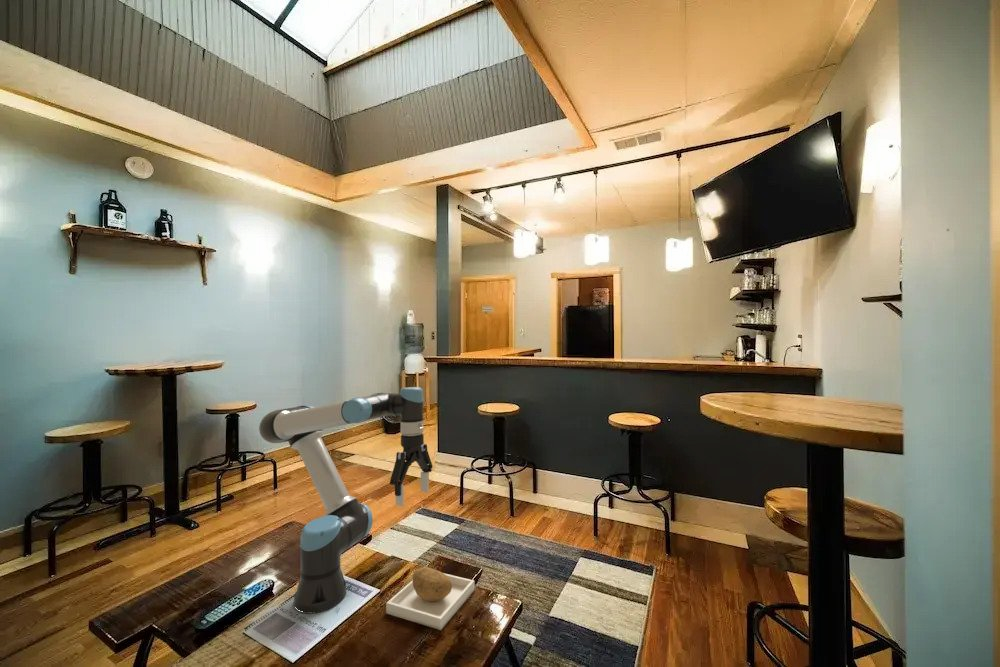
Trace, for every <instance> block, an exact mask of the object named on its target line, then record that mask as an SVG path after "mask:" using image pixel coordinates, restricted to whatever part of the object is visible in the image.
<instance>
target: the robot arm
mask: <svg viewBox="0 0 1000 667" xmlns="http://www.w3.org/2000/svg"><path fill="white" fill-rule="evenodd" d="M386 416H398V417H399V416H400V434H401V435H400V446H401V447H402V448H403V449H402V452H400V451H397V452H396V454H395V456H396V457H395V462H394V465H393V470H392V473H391V477H390V480H389V485H393V486H394V496H395V506H397V507H403V506H405V485H404V484H403V482H404V480H405V477H406V476H407V473H408V471H409V468H410V466H412V464H414V462H416V464H418V466H419V467H420V470H421V472H420V492H422V493H423V492H425V493H429V492H430V491H429V484H430V483H429V480H430V478H429V475H430V474H429V473H431V472H432V470H433V463H432V459H431V457H430V454H429V451H428V445H427V444H426V443H424V442H425V440H424V436H425V435H424V392H423V388H421V387H419V386H412V387H411V386H409V387H402V388H401V389H400V392H399V393H397V392H396V393H395V392H394V393H390V392H388V393H387V392H377V393H371V395H368V396H362V397H354V398H351V399H349V400H342V401H338V402H333V403H329V404H324V405H319V406H313V405H298V406H295V407H288V408H283V409H282V408H281V409H276V410H273V411H271V412H268V413H267V414H265V416H263V417H262V419H261V420H260V423H259V426H258V427H259V428H258V431H259V435H260V437H261V438H262V439H263V440H264V441H266V442H268V443H271V444H282V443H287V442H288V444H289V446H290V448H291V449H293V450H295V451H298V454H299V455H300V456H299V457H300V459H301V460H302V461H303V464H304V466H305V468H306V470H307V472H308V474H309V476H310V479H311V481H312V483H313V486H314V487H315V489H316V491H317V494H318V495H319V498H320V499H321V501H322V504H323V506H324V508H325V512H324V515H323V516H321V517H315V518H314V519H312V520H310V521H309V522H307V523H306V524H305V525H304V527H303V528H302V530H301V533H300V539H299V548H300V550H299V552H300V553H299V554H300V555H299V556H300V560H299V561H300V562H299V563H300V568H299V569H300V572H299V573H300V578H299V582H298V585H297V588H296V591H295V593H294V596H293V607H294V606H295V607H296V608H297V609H298V610H300V611H303V612H306V613H305V614H308V613H307V612H312V613H311V614H314V613H313V612H315V613H319V612H320V613H321V612H323V611H326V610H329V609H331V608H333V607H335V606H336V605H338V604H339V603H341V602H342V600H344V599H345V597H346V595H347V582H346V581H345V578H344V575H343V571H342V569H341V555H342V554H343V553H344V552H346V551H347V550H348V549H350V548H352V547H353V546H354V545H355V544H357V543H359V542H360V541H362V540H363V539H364V538H365V537H366V536H367V535H368V534H369V533H370V532H371V530H372V525H373V520H374V519H373V514H372V511H371V509H370V507H369V506H368V505H367V504H364V503H363V502H359V501H358V499H357V497H356V496H351V495H350V493H349V491H348V489H347V488H346V485H345V483H344V481H343V478H341V475H340V473H339V471H338V469H337V467H336V464H335V463H334V461H333V459H332V457H331V455H330V453H329V451H328V448H327V447H326V444H325V443H324V441H323V439H322V438H323V437H322V436H323V435H324V431H323V430H325V429H330V428H335V427H341V426H348V425H350V424H351V425H352V424H360V423H364V422H367V421H371V420H374V419H379V418H383V417H386Z"/></svg>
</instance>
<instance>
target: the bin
mask: <svg viewBox="0 0 1000 667" xmlns="http://www.w3.org/2000/svg"><path fill="white" fill-rule="evenodd" d="M443 573H444V574H445V575H447V576H448V577H449V578H450V580H451V584H452V589H451V592H450V593H449V594H448V595H447V596H446V597H445V598H444V599H442V600H439V601H433V602H432V601H427V600H424V599H422V598H421V597H419V596H418V595H417V593H416V591H415V589H414V587H413V579H412V580H410V582H408V583H407V584H406V585H405V586H404V587H402V589H400V590H399V591H398V592H397V593H396V594H395V595H394V596H392V597H391V598H390V599H389V600H388V601H386V605H385V606H386V607H385V608H386V609H385V611H386V612H385V613H386V614H387V615H389V616H390V615H391V616H394V617H396V618H400V619H404V620H407V621H409V622H414V623H416V624H419V625H423V626H426V627H429V628H433V629H436V630H438V631H442V630H443V628H444V627H445V626H446V625H447V624H448V622H449V621H450V620H452V618H453V617H454V615H455V614H456V613H457V612H458V611H459V610H460V608H461V607H462V606H463V605H464V604H465V602H466V601H467V600H468V599H469V598H470V596H471V595H472V594H473V592H475V588H476V587H475V580H473V579H469V578H465V577H461V576H456V575H454V574H448V573H445V572H443Z"/></svg>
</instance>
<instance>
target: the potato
mask: <svg viewBox="0 0 1000 667" xmlns="http://www.w3.org/2000/svg"><path fill="white" fill-rule="evenodd" d="M444 573H445V572H442V571H440V570H437V569H434V568H431V567H427V566H422V567H419V568H417V569H416V570H415V571H414V572H413V574H412V580H413V587H414V589H415V591H416V593H417V595H418V596H419V597H421V598H422V599H424V600H427V601H432V602H433V601H439V600H442V599H444V598H445V597H446V596H447V595H448V594H449V593H450V592H451V589H452V584H451V580H450V578H449V577H448V576H447V575H445V574H446V573H445V574H444Z"/></svg>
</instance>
